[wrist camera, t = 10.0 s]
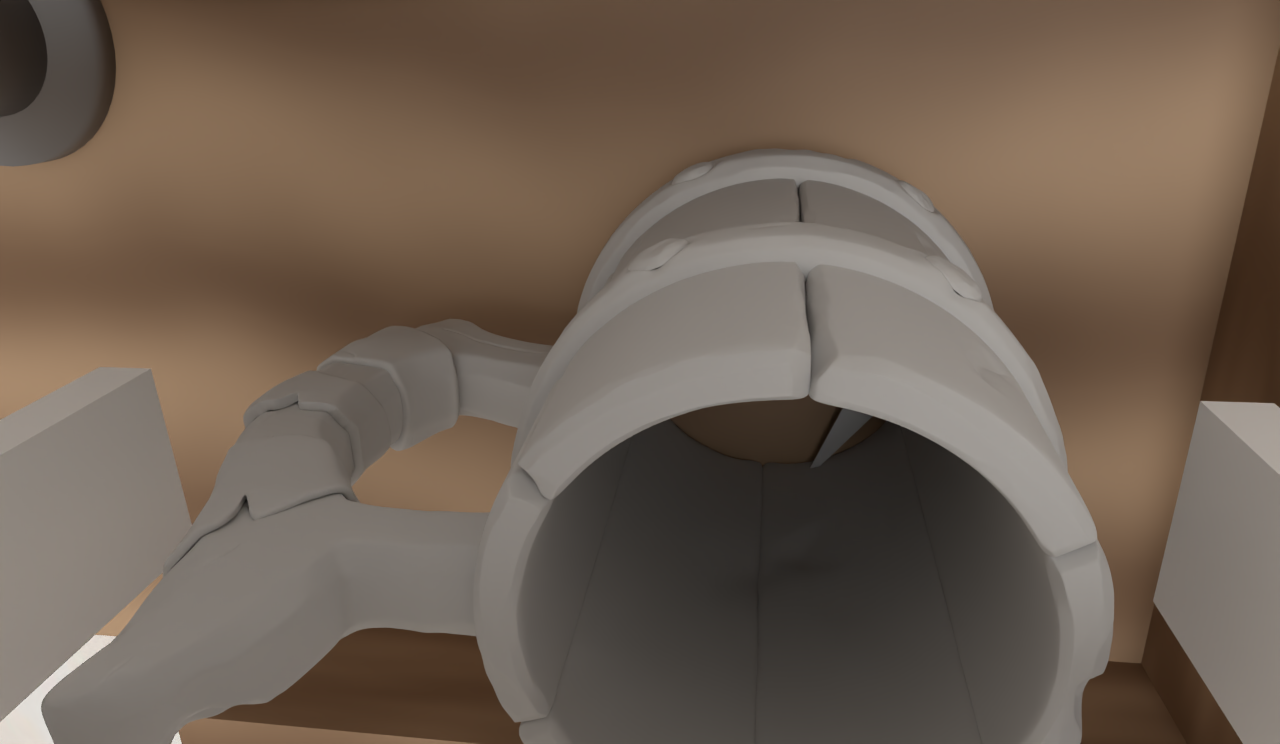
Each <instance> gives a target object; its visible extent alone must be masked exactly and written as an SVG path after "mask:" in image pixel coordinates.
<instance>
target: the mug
mask: <svg viewBox="0 0 1280 744" xmlns="http://www.w3.org/2000/svg"><path fill="white" fill-rule="evenodd" d="M808 394H809V396H810V397H811V398H812V399H813V400H815V401H817V402H820V403H823V404H827V405H832V406H836V407H841V408H843V409H842V411H841V413H840V414H839V416H838V418H837V420H836V422H835V423H834V425H833V427H832V429H831V431H830V433H829V434H828V436H827V438H826V440H825V442H824V443H823V445H822V447H821V449H820V451H819V453H818V454H817V456H816V458H815V460H814V461H810V462H804V463H795V464H781V463H766V464H764V466H763V468H762V465H761V463H759V462H756V461H751V460H741V459H735V458H731V457H728V456H726V455H723V454H721V453H718V452H716V451H714V450H712V449H710V448H708V447H706V446H704V445H702V444H700V443H699V442H697V441H695V440H694V439H692V438H691V437H689V436H688V435H686V434H685V433H684V432H683V431H682V430H681V429H679V428H678V427H677V426H676V425H675V424H674V423H673V422H672V421H671V420H670V419H671V418H673V417H676V416H679V415H682V414H685V413H688V412H691V411H695V410H698V409H702V408H707V407H712V406H717V405H724V404H731V403H740V402H752V401H767V400H794V399H801V398H804V397H806V396H807V395H808ZM459 415H465V416H473V417H478V418H483V419H487V420H492V421H495V422H498V423H501V424H505V425H508V426H512V427H516V428H518V430H517V433H516V437H515V442H514V447H513V451H512V457H511V469H510V471H509V473H508V475H507V477H506V479H505V481H504V482H503V484H502V486H501V488H500V490H499V492H498V495H497V497H496V499H495V501H494V503H493V506H492V508H491V511H490V512H485V513H471V512H453V511H420V510H410V509H399V508H389V507H380V506H373V505H367V504H362V503H360V501H359V500H358V498H357V497H356V495H355V493H354V492H353V489H352V486H353V485H354V484H355V482H356V481H357V480H358V479H359V478H360V477H361V475H362V474H363V473H364V471H365V470H366V469H367V468H368V467H369V466H370V465H372V464H373V463H374V462H376V461H377V460H378V459H380V458H381V457H382V456H383V455H384V454H385V453H386V451H387V450H388V449H389V447H391V448H392V449H394V450H396V451H401V450H404V449H408V448H410V447H412V446H414V445H416V444H418V443H419V442H421V441H423V440H425V439H427V438H429V437H430V436H432V435H434V434H436V433H438V432H440V431H443V430H446V429H449V428H452V427H453V426H454V425H455V423H456V421H457V419H458V416H459ZM872 416H875V417H878V418H881V419H884V420H887V421H886V422H885V423H884V424H883V425H882V426H881V427H880V428H879V429H878V430H877V431H876V432H875V433H874V434H872V435H871V436H870V437H868V438H867V439H865V440H864V441H862V442H860V443H859V444H857V445H855V446H853V447H851V448H849V449H847V450H845V451H843V452H840V453H838V454H835V455H832V454H833V453H834V452H835V451H837V450H838V449H839V448H840V447H841V446H842V445H843V444H844V443H845V442H846V441H847V440H848V439H849V438H850V437H851V436H852V435H853V434H854V433H856V432H857V431H858V430H859V429H860V428H861V427H862V426H863V425H864V424H865V423H866V422H867V421H868V420H869V419H870V418H871V417H872ZM243 421H244V425H245V430H244V431H243V432H242V434H241V435H240V436H239V438H238V439H237V441H236V443H235V445H234V446H232V447H231V448H230V449H229V450H228V452H227V455H226V457H225V459H224V461H223V463H222V465H221V467H220V470H219V472H218V474H217V477H216V483H215V486H214V489H213V492H212V494H211V496H210V498H209V500H208V502H207V503H206V505H205V506H204V508H203V509H202V511H201V512H200V514H199V515H198V517H197V518H196V520H195V521H194V523H193V524H192V526H191V527H190V529H189V530H188V532H187V533H186V535H185V536H184V538H183V539H182V540H181V542H180V543H179V544H178V546H177V547H176V548H175V550H174V551H173V552H172V553H171V555H170V556H169V557H168V558H167V560H166V562H165V564H164V567H163V579H162V580H161V581H160V582H159V583H158V584H157V586H156V587H155V588H154V589H153V590H152V592H151V593H150V594H149V595H148V597H147V598H146V599H145V601H144V602H143V603H142V605H141V606H140V607H139V609H138V610H137V612H136V613H135V614H134V616H133V617H132V619H131V620H130V621H129V622H128V624H127V625H126V626H125V628H124V629H123V630H122V631H121V632H120V633H119V635H118V636H117V637H116V638H115V639H114V640H113V641H112V642H111V643H110V644H108V645H107V646H106V647H104V648H103V649H102V650H100V651H99V652H97V653H96V654H95V655H93V656H92V657H91V658H89V659H88V660H87V661H85V662H84V663H83V664H81V665H80V666H79V667H77V668H76V669H75V670H74V671H72V672H71V673H70V674H68V675H67V676H66V677H65V678H63V679H62V680H61V681H60V682H59V683H58V684H56V685H55V686H54V687H53V688H52V689H51V690H50V691H49V692H48V694H47V695H46V696H45V698H44V699H43V702H42V705H41V710H42V715H43V718H44V721H45V723H46V726H47V728H48V730H49V733H50V735H51V737H52V739H53V742H54V744H171V742H172V740H173V738H174V736H175V734H176V733H177V732H178V731H179V730H180V729H181V728H182V727H183V726H184V725H186V724H187V723H189V722H192V721H195V720H199V719H203V718H208V717H212V716H215V715H218V714H220V713H222V712H224V711H225V710H227V709H228V708H230V707H233V706H236V705H242V704H262V703H267V702H269V701H271V700H272V699H273V698H275V697H276V696H278V695H279V694H281V693H283V692H284V691H286V690H287V689H288V688H289V687H290V686H292V685H293V684H294V683H295V682H297V681H298V680H299V679H300V678H301V677H302V676H304V675H305V674H306V673H307V672H308V671H309V670H310V669H311V668H312V667H313V666H315V665H316V664H317V663H318V662H319V661H320V660H321V659H322V658H323V657H324V656H325V655H326V654H327V653H328V652H329V651H330V650H331V649H332V648H333V647H334V646H335V645H336V644H337V643H338V641H339V640H340V639H342V638H344V637H346V636H348V635H349V634H351V633H353V632H356V631H358V630H361V629H367V628H397V629H405V630H412V631H418V632H424V633H450V634H460V635H470V636H476V637H477V642H478V646H479V650H480V652H481V655H482V659H483V664H484V668H485V671H486V674H487V676H488V678H489V680H490V682H491V684H492V686H493V688H494V690H495V693H496V695H497V697H498V700H499V702H500V703H501V705H502V707H503V708H504V710H505V711H506V712H507V713H508V714H509V716H510V717H511V718H512V720H513V721H514V722H521V724H520V727H519V736H520V738H521V740H522V742H523V743H524V744H1080V743H1081V739H1082V713H1081V709H1082V695H1083V691H1084V688H1085V686H1086V684H1087V682H1088V681H1089V679H1092V678H1094V677H1096V676H1098V675H1101V674H1103V672H1104V671H1105V668H1106V666H1107V663H1108V660H1109V655H1110V649H1111V643H1112V637H1113V621H1114V588H1113V582H1112V576H1111V572H1110V568H1109V565H1108V562H1107V559H1106V556H1105V554H1104V551H1103V549H1102V547H1101V545H1100V543H1099V541H1098V539H1097V531H1096V527H1095V524H1094V522H1093V519H1092V517H1091V515H1090V512H1089V510H1088V508H1087V506H1086V504H1085V503H1084V501H1083V499H1082V497H1081V495H1080V493H1079V492H1078V490H1077V488H1076V486H1075V484H1074V483H1073V481H1072V479H1071V477H1070V475H1069V474H1068V467H1067V455H1066V451H1065V446H1064V440H1063V435H1062V431H1061V428H1060V425H1059V423H1058V420H1057V417H1056V415H1055V412H1054V409H1053V406H1052V403H1051V401H1050V398H1049V395H1048V393H1047V390H1046V388H1045V386H1044V383H1043V381H1042V378H1041V376H1040V373H1039V371H1038V369H1037V367H1036V365H1035V364H1034V362H1033V361H1032V359H1031V358H1030V357H1029V355H1028V354H1027V352H1026V351H1025V350H1024V348H1023V347H1022V345H1021V344H1020V343H1019V341H1018V340H1017V339H1016V337H1015V336H1014V335H1013V333H1012V332H1011V331H1010V330H1009V328H1008V327H1007V326H1006V324H1005V323H1004V322H1003V321H1002V320H1001V318H1000V317H999V316H998V315H997V314H996V313H995V312H994V308H993V304H992V301H991V297H990V294H989V291H988V288H987V285H986V283H985V280H984V277H983V275H982V273H981V271H980V269H979V267H978V265H977V263H976V261H975V259H974V257H973V255H972V254H971V251H970V250H969V248H968V246H967V245H966V244H965V242H964V241H963V239H962V238H961V237H960V235H959V234H958V233H957V231H956V230H955V229H954V227H953V226H952V225H951V224H950V223H949V221H948V220H947V219H946V218H945V217H944V216H943V215H942V214H941V213H940V212H939V211H938V210H937V209H936V208H935V207H934V206H933V203H932V201H931V200H930V198H929V197H928V196H927V195H926V194H925V193H924V192H922V191H921V190H919V189H917V188H916V187H914V186H912V185H911V184H909V183H907V182H905V181H902V180H899V179H897V178H896V177H894V176H892V175H890V174H889V173H887V172H885V171H883V170H881V169H879V168H876V167H874V166H872V165H870V164H867V163H865V162H862V161H859V160H856V159H846V158H842V157H839V156H837V155H833V154H827V153H819V152H815V151H811V150H787V149H776V148H773V149H756V150H750V151H746V152H742V153H737V154H733V155H729V156H725V157H722V158H719V159H716V160H713V161H710V162H701V163H697V164H695V165H692V166H690V167H688V168H686V169H684V170H683V171H682V172H680V173H679V174H677V175H676V176H675V177H674V179H673V180H671V181H669V182H668V183H666V184H665V185H663V186H662V187H661V188H659V189H658V190H656V191H655V192H654V193H652V194H651V195H650V196H649V197H647V198H646V199H645V200H644V201H643V202H642V203H641V204H639V205H638V206H637V207H636V208H635V209H634V210H633V211H632V212H631V213H630V214H629V215H628V216H627V217H626V219H625V220H624V221H623V222H622V223H621V224H620V226H619V227H618V228H617V229H616V231H615V232H614V233H613V234H612V236H611V237H610V239H609V240H608V242H607V243H606V245H605V246H604V248H603V250H602V251H601V253H600V255H599V256H598V258H597V260H596V262H595V264H594V266H593V268H592V270H591V272H590V274H589V276H588V279H587V281H586V283H585V286H584V289H583V292H582V295H581V298H580V301H579V305H578V310H577V314H576V315H575V317H574V318H573V319H572V320H571V321H570V322H569V324H568V325H567V326H566V328H565V329H564V330H563V332H562V334H561V335H560V337H559V338H558V340H557V341H556V343H555V344H554V346H551V345H543V344H536V343H529V342H524V341H519V340H515V339H510V338H506V337H502V336H499V335H495V334H492V333H490V332H487V331H485V330H483V329H481V328H479V327H478V326H476V325H475V324H473V323H471V322H469V321H464V320H461V319H447V320H444V321H441V322H437V323H433V324H427V325H423V326H420V327H418V328H415V329H414V328H410V327H407V326H389V327H386V328H384V329H382V330H380V331H378V332H376V333H374V334H372V335H370V336H369V337H367V338H363V339H359V340H356V341H354V342H352V343H350V344H348V345H347V346H345V347H344V348H342V349H341V350H339V351H338V352H336V353H335V354H333V355H332V356H330V357H329V358H327V359H326V360H325V361H323V362H322V363H321V364H319V365H318V367H317V371H311V370H309V371H306V372H304V373H302V374H299V375H297V376H295V377H292V378H290V379H288V380H286V381H284V382H282V383H280V384H278V385H276V386H275V387H273V388H272V389H270V390H269V391H267V392H266V393H265V394H263V395H262V396H261V397H259V398H258V399H257V400H255V401H254V402H253V403H252V404H251V405H250V406H249V407H248V408H247V410H246V411H245V413H244V416H243ZM831 455H832V456H831Z"/></svg>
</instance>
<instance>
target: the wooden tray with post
mask: <svg viewBox="0 0 1280 744" xmlns="http://www.w3.org/2000/svg"><path fill="white" fill-rule="evenodd" d="M773 148H776V149H787V150H811V151H815V152H819V153H827V154H833V155H837V156H839V157H842V158H846V159H856V160H859V161H862V162H865V163H867V164H870V165H872V166H874V167H876V168H879V169H881V170H883V171H885V172H887V173H889V174H890V175H892V176H894V177H896V178H897V179H899V180H902V181H905V182H907V183H909V184H911V185H912V186H914V187H916V188H917V189H919V190H921V191H922V192H924V193H925V194H926V195H927V196H928V197H929V198H930V200H931V201H932V203H933V206H934V207H935V208H936V209H937V210H938V211H939V212H940V213H941V214H942V215H943V216H944V217H945V218H946V219H947V220H948V221H949V223H950V224H951V225H952V226H953V227H954V229H955V230H956V231H957V233H958V234H959V235H960V237H961V238H962V239H963V241H964V242H965V244H966V245H967V246H968V248H969V250H970V251H971V254H972V255H973V257H974V259H975V261H976V263H977V265H978V267H979V269H980V271H981V273H982V275H983V277H984V280H985V283H986V285H987V288H988V291H989V294H990V297H991V301H992V304H993V308H994V312H995V313H996V314H997V315H998V316H999V317H1000V318H1001V320H1002V321H1003V322H1004V323H1005V324H1006V326H1007V327H1008V328H1009V330H1010V331H1011V332H1012V333H1013V335H1014V336H1015V337H1016V339H1017V340H1018V341H1019V343H1020V344H1021V345H1022V347H1023V348H1024V350H1025V351H1026V352H1027V354H1028V355H1029V357H1030V358H1031V359H1032V361H1033V362H1034V364H1035V365H1036V367H1037V369H1038V371H1039V373H1040V376H1041V378H1042V381H1043V383H1044V386H1045V388H1046V390H1047V393H1048V395H1049V398H1050V401H1051V403H1052V406H1053V409H1054V412H1055V415H1056V417H1057V420H1058V423H1059V425H1060V428H1061V431H1062V435H1063V440H1064V446H1065V451H1066V455H1067V467H1068V474H1069V475H1070V477H1071V479H1072V481H1073V483H1074V484H1075V486H1076V488H1077V490H1078V492H1079V493H1080V495H1081V497H1082V499H1083V501H1084V503H1085V504H1086V506H1087V508H1088V510H1089V512H1090V515H1091V517H1092V519H1093V522H1094V524H1095V527H1096V531H1097V539H1098V541H1099V543H1100V545H1101V547H1102V549H1103V551H1104V554H1105V556H1106V559H1107V562H1108V565H1109V568H1110V572H1111V576H1112V582H1113V588H1114V621H1113V637H1112V643H1111V649H1110V655H1109V660H1108V663H1107V666H1106V668H1105V671H1104V672H1103V674H1101V675H1098V676H1096V677H1094V678H1092V679H1089V681H1088V682H1087V684H1086V686H1085V688H1084V691H1083V695H1082V709H1081V713H1082V739H1081V743H1080V744H1243V743H1242V741H1241V740H1240V738H1239V737H1238V735H1237V733H1236V732H1235V730H1234V729H1233V727H1232V725H1231V724H1230V722H1229V721H1228V719H1227V718H1226V716H1225V714H1224V713H1223V711H1222V710H1221V708H1220V706H1219V705H1218V703H1217V702H1216V700H1215V699H1214V697H1213V695H1212V694H1211V692H1210V691H1209V689H1208V687H1207V686H1206V684H1205V683H1204V681H1203V680H1202V678H1201V676H1200V675H1199V673H1198V672H1197V670H1196V668H1195V667H1194V665H1193V664H1192V662H1191V661H1190V659H1189V657H1188V656H1187V654H1186V653H1185V651H1184V649H1183V648H1182V646H1181V645H1180V643H1179V642H1178V640H1177V638H1176V637H1175V635H1174V634H1173V632H1172V630H1171V629H1170V627H1169V626H1168V624H1167V622H1166V621H1165V619H1164V618H1163V616H1162V615H1161V613H1160V611H1159V610H1158V608H1157V607H1156V605H1155V603H1154V602H1153V599H1154V595H1155V590H1156V586H1157V582H1158V578H1159V573H1160V569H1161V565H1162V561H1163V557H1164V552H1165V548H1166V544H1167V540H1168V535H1169V531H1170V527H1171V523H1172V518H1173V514H1174V510H1175V506H1176V502H1177V497H1178V493H1179V489H1180V485H1181V480H1182V476H1183V472H1184V468H1185V463H1186V459H1187V455H1188V451H1189V447H1190V442H1191V438H1192V434H1193V430H1194V425H1195V421H1196V417H1197V413H1198V408H1199V404H1200V401H1217V402H1250V403H1274V404H1276V405H1277V406H1278V407H1279V408H1280V0H0V420H1V419H3V418H5V417H7V416H8V415H10V414H12V413H14V412H16V411H18V410H20V409H22V408H24V407H25V406H27V405H29V404H31V403H33V402H35V401H37V400H39V399H41V398H42V397H44V396H46V395H48V394H50V393H52V392H54V391H56V390H58V389H59V388H61V387H63V386H65V385H67V384H69V383H71V382H73V381H75V380H76V379H78V378H80V377H82V376H84V375H86V374H88V373H90V372H91V371H93V370H95V369H97V368H99V367H116V368H149V369H151V371H152V375H153V379H154V382H155V386H156V390H157V394H158V398H159V401H160V405H161V409H162V413H163V417H164V421H165V424H166V428H167V432H168V436H169V440H170V443H171V447H172V451H173V455H174V459H175V463H176V466H177V470H178V474H179V478H180V482H181V485H182V489H183V493H184V497H185V501H186V504H187V508H188V512H189V516H190V520H191V524H193V523H194V521H195V520H196V518H197V517H198V515H199V514H200V512H201V511H202V509H203V508H204V506H205V505H206V503H207V502H208V500H209V498H210V496H211V494H212V492H213V489H214V486H215V483H216V477H217V474H218V472H219V470H220V467H221V465H222V463H223V461H224V459H225V457H226V455H227V452H228V450H229V449H230V448H231V447H232V446H234V445H235V443H236V441H237V439H238V438H239V436H240V435H241V434H242V432H243V431H244V430H245V425H244V421H243V416H244V413H245V411H246V410H247V408H248V407H249V406H250V405H251V404H252V403H253V402H254V401H255V400H257V399H258V398H259V397H261V396H262V395H263V394H265V393H266V392H267V391H269V390H270V389H272V388H273V387H275V386H276V385H278V384H280V383H282V382H284V381H286V380H288V379H290V378H292V377H295V376H297V375H299V374H302V373H304V372H306V371H309V370H311V371H317V367H318V365H319V364H321V363H322V362H323V361H325V360H326V359H327V358H329V357H330V356H332V355H333V354H335V353H336V352H338V351H339V350H341V349H342V348H344V347H345V346H347V345H348V344H350V343H352V342H354V341H356V340H359V339H363V338H367V337H369V336H370V335H372V334H374V333H376V332H378V331H380V330H382V329H384V328H386V327H389V326H407V327H410V328H414V329H415V328H418V327H420V326H423V325H427V324H433V323H437V322H441V321H444V320H447V319H461V320H464V321H469V322H471V323H473V324H475V325H476V326H478V327H479V328H481V329H483V330H485V331H487V332H490V333H492V334H495V335H499V336H502V337H506V338H510V339H515V340H519V341H524V342H529V343H536V344H543V345H551V346H554V344H555V343H556V341H557V340H558V338H559V337H560V335H561V334H562V332H563V330H564V329H565V328H566V326H567V325H568V324H569V322H570V321H571V320H572V319H573V318H574V317H575V315H576V314H577V310H578V305H579V301H580V298H581V295H582V292H583V289H584V286H585V283H586V281H587V279H588V276H589V274H590V272H591V270H592V268H593V266H594V264H595V262H596V260H597V258H598V256H599V255H600V253H601V251H602V250H603V248H604V246H605V245H606V243H607V242H608V240H609V239H610V237H611V236H612V234H613V233H614V232H615V231H616V229H617V228H618V227H619V226H620V224H621V223H622V222H623V221H624V220H625V219H626V217H627V216H628V215H629V214H630V213H631V212H632V211H633V210H634V209H635V208H636V207H637V206H638V205H639V204H641V203H642V202H643V201H644V200H645V199H646V198H647V197H649V196H650V195H651V194H652V193H654V192H655V191H656V190H658V189H659V188H661V187H662V186H663V185H665V184H666V183H668V182H669V181H671V180H673V179H674V177H675V176H676V175H677V174H679V173H680V172H682V171H683V170H684V169H686V168H688V167H690V166H692V165H695V164H697V163H701V162H710V161H713V160H716V159H719V158H722V157H725V156H729V155H733V154H737V153H742V152H746V151H750V150H756V149H773ZM842 409H843V408H841V407H836V406H832V405H827V404H823V403H820V402H817V401H815V400H813V399H812V398H811V397H810V396H809V394H808V395H807V396H806V397H804V398H801V399H794V400H767V401H752V402H740V403H731V404H724V405H717V406H712V407H707V408H702V409H698V410H695V411H691V412H688V413H685V414H682V415H679V416H676V417H673V418H671V419H670V420H671V421H672V422H673V423H674V424H675V425H676V426H677V427H678V428H679V429H681V430H682V431H683V432H684V433H685V434H686V435H688V436H689V437H691V438H692V439H694V440H695V441H697V442H699V443H700V444H702V445H704V446H706V447H708V448H710V449H712V450H714V451H716V452H718V453H721V454H723V455H726V456H728V457H731V458H735V459H741V460H751V461H756V462H759V463H761V465H762V468H763V466H764V464H766V463H781V464H795V463H804V462H810V461H814V460H815V458H816V456H817V454H818V453H819V451H820V449H821V447H822V445H823V443H824V442H825V440H826V438H827V436H828V434H829V433H830V431H831V429H832V427H833V425H834V423H835V422H836V420H837V418H838V416H839V414H840V413H841V411H842ZM886 421H887V420H884V419H881V418H878V417H875V416H872V417H871V418H870V419H869V420H868V421H867V422H866V423H865V424H864V425H863V426H862V427H861V428H860V429H859V430H858V431H857V432H856V433H854V434H853V435H852V436H851V437H850V438H849V439H848V440H847V441H846V442H845V443H844V444H843V445H842V446H841V447H840V448H839V449H838V450H837V451H835V452H834V453H833V454H832V455H835V454H838V453H840V452H843V451H845V450H847V449H849V448H851V447H853V446H855V445H857V444H859V443H860V442H862V441H864V440H865V439H867V438H868V437H870V436H871V435H872V434H874V433H875V432H876V431H877V430H878V429H879V428H880V427H881V426H882V425H883V424H884V423H885V422H886ZM517 430H518V428H516V427H512V426H508V425H505V424H501V423H498V422H495V421H492V420H487V419H483V418H478V417H473V416H465V415H459V416H458V419H457V421H456V423H455V425H454V426H453V427H452V428H449V429H446V430H443V431H440V432H438V433H436V434H434V435H432V436H430V437H429V438H427V439H425V440H423V441H421V442H419V443H418V444H416V445H414V446H412V447H410V448H408V449H404V450H401V451H396V450H394V449H392V448H391V447H389V449H388V450H387V451H386V453H385V454H384V455H383V456H382V457H381V458H380V459H378V460H377V461H376V462H374V463H373V464H372V465H370V466H369V467H368V468H367V469H366V470H365V471H364V473H363V474H362V475H361V477H360V478H359V479H358V480H357V481H356V482H355V484H354V485H353V486H352V489H353V492H354V493H355V495H356V497H357V498H358V500H359V501H360V503H362V504H367V505H373V506H380V507H389V508H399V509H410V510H420V511H453V512H471V513H485V512H490V511H491V508H492V506H493V503H494V501H495V499H496V497H497V495H498V492H499V490H500V488H501V486H502V484H503V482H504V481H505V479H506V477H507V475H508V473H509V471H510V469H511V457H512V451H513V447H514V442H515V437H516V433H517ZM832 455H831V456H832ZM162 579H163V573H162V574H161V575H160V576H158V577H157V578H156V579H155V580H154V581H153V582H152V583H151V584H150V585H149V586H148V587H146V588H145V589H144V590H143V591H142V592H141V593H140V594H139V595H138V596H137V597H136V598H134V599H133V600H132V601H131V602H130V603H129V604H128V605H127V606H126V607H125V608H124V609H122V610H121V611H120V612H119V613H118V614H117V615H116V616H115V617H114V618H113V619H112V620H110V621H109V622H108V623H107V624H106V625H105V626H104V627H103V628H102V629H101V630H100V631H99V632H97V633H96V634H95V635H107V636H118V635H119V633H120V632H121V631H122V630H123V629H124V628H125V626H126V625H127V624H128V622H129V621H130V620H131V619H132V617H133V616H134V614H135V613H136V612H137V610H138V609H139V607H140V606H141V605H142V603H143V602H144V601H145V599H146V598H147V597H148V595H149V594H150V593H151V592H152V590H153V589H154V588H155V587H156V586H157V584H158V583H159V582H160V581H161V580H162ZM520 724H521V722H514V721H513V720H512V718H511V717H510V716H509V714H508V713H507V712H506V711H505V710H504V708H503V707H502V705H501V703H500V702H499V700H498V697H497V695H496V693H495V690H494V688H493V686H492V684H491V682H490V680H489V678H488V676H487V674H486V671H485V668H484V664H483V659H482V655H481V652H480V650H479V646H478V642H477V637H476V636H470V635H460V634H450V633H424V632H418V631H412V630H405V629H397V628H367V629H361V630H358V631H356V632H353V633H351V634H349V635H348V636H346V637H344V638H342V639H340V640H339V641H338V643H337V644H336V645H335V646H334V647H333V648H332V649H331V650H330V651H329V652H328V653H327V654H326V655H325V656H324V657H323V658H322V659H321V660H320V661H319V662H318V663H317V664H316V665H315V666H313V667H312V668H311V669H310V670H309V671H308V672H307V673H306V674H305V675H304V676H302V677H301V678H300V679H299V680H298V681H297V682H295V683H294V684H293V685H292V686H290V687H289V688H288V689H287V690H286V691H284V692H283V693H281V694H279V695H278V696H276V697H275V698H273V699H272V700H271V701H269V702H267V703H262V704H242V705H236V706H233V707H230V708H228V709H227V710H225V711H224V712H222V713H220V714H218V715H215V716H212V717H208V718H203V719H199V720H195V721H192V722H189V723H187V724H186V725H184V726H183V727H182V728H181V729H180V730H179V734H180V738H181V742H182V744H524V743H523V742H522V740H521V738H520V736H519V727H520Z"/></svg>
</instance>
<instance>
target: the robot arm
mask: <svg viewBox="0 0 1280 744" xmlns="http://www.w3.org/2000/svg"><path fill="white" fill-rule="evenodd" d="M191 526H192V524H191V520H190V516H189V512H188V508H187V504H186V501H185V497H184V493H183V489H182V485H181V482H180V478H179V474H178V470H177V466H176V463H175V459H174V455H173V451H172V447H171V443H170V440H169V436H168V432H167V428H166V424H165V421H164V417H163V413H162V409H161V405H160V401H159V398H158V394H157V390H156V386H155V382H154V379H153V375H152V371H151V369H149V368H116V367H99V368H97V369H95V370H93V371H91V372H90V373H88V374H86V375H84V376H82V377H80V378H78V379H76V380H75V381H73V382H71V383H69V384H67V385H65V386H63V387H61V388H59V389H58V390H56V391H54V392H52V393H50V394H48V395H46V396H44V397H42V398H41V399H39V400H37V401H35V402H33V403H31V404H29V405H27V406H25V407H24V408H22V409H20V410H18V411H16V412H14V413H12V414H10V415H8V416H7V417H5V418H3V419H1V420H0V721H2V720H3V719H4V718H5V717H6V716H7V715H8V714H9V713H10V712H11V711H12V710H14V709H15V708H16V707H17V706H18V705H19V704H20V703H21V702H22V701H23V700H24V699H26V698H27V697H28V696H29V695H30V694H31V693H32V692H33V691H34V690H35V689H36V688H38V687H39V686H40V685H41V684H42V683H43V682H44V681H45V680H46V679H47V678H48V677H49V676H51V675H52V674H53V673H54V672H55V671H56V670H57V669H58V668H59V667H60V666H61V665H63V664H64V663H65V662H66V661H67V660H68V659H69V658H70V657H71V656H72V655H73V654H75V653H76V652H77V651H78V650H79V649H80V648H81V647H82V646H83V645H84V644H85V643H87V642H88V641H89V640H90V639H91V638H92V637H93V636H94V635H95V634H96V633H97V632H99V631H100V630H101V629H102V628H103V627H104V626H105V625H106V624H107V623H108V622H109V621H110V620H112V619H113V618H114V617H115V616H116V615H117V614H118V613H119V612H120V611H121V610H122V609H124V608H125V607H126V606H127V605H128V604H129V603H130V602H131V601H132V600H133V599H134V598H136V597H137V596H138V595H139V594H140V593H141V592H142V591H143V590H144V589H145V588H146V587H148V586H149V585H150V584H151V583H152V582H153V581H154V580H155V579H156V578H157V577H158V576H160V575H161V574H162V573H163V567H164V564H165V562H166V560H167V558H168V557H169V556H170V555H171V553H172V552H173V551H174V550H175V548H176V547H177V546H178V544H179V543H180V542H181V540H182V539H183V538H184V536H185V535H186V533H187V532H188V530H189V529H190V527H191ZM1153 602H1154V603H1155V605H1156V607H1157V608H1158V610H1159V611H1160V613H1161V615H1162V616H1163V618H1164V619H1165V621H1166V622H1167V624H1168V626H1169V627H1170V629H1171V630H1172V632H1173V634H1174V635H1175V637H1176V638H1177V640H1178V642H1179V643H1180V645H1181V646H1182V648H1183V649H1184V651H1185V653H1186V654H1187V656H1188V657H1189V659H1190V661H1191V662H1192V664H1193V665H1194V667H1195V668H1196V670H1197V672H1198V673H1199V675H1200V676H1201V678H1202V680H1203V681H1204V683H1205V684H1206V686H1207V687H1208V689H1209V691H1210V692H1211V694H1212V695H1213V697H1214V699H1215V700H1216V702H1217V703H1218V705H1219V706H1220V708H1221V710H1222V711H1223V713H1224V714H1225V716H1226V718H1227V719H1228V721H1229V722H1230V724H1231V725H1232V727H1233V729H1234V730H1235V732H1236V733H1237V735H1238V737H1239V738H1240V740H1241V741H1242V743H1243V744H1280V408H1279V407H1278V406H1277V405H1276V404H1274V403H1250V402H1217V401H1200V404H1199V408H1198V413H1197V417H1196V421H1195V425H1194V430H1193V434H1192V438H1191V442H1190V447H1189V451H1188V455H1187V459H1186V463H1185V468H1184V472H1183V476H1182V480H1181V485H1180V489H1179V493H1178V497H1177V502H1176V506H1175V510H1174V514H1173V518H1172V523H1171V527H1170V531H1169V535H1168V540H1167V544H1166V548H1165V552H1164V557H1163V561H1162V565H1161V569H1160V573H1159V578H1158V582H1157V586H1156V590H1155V595H1154V599H1153Z"/></svg>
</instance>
